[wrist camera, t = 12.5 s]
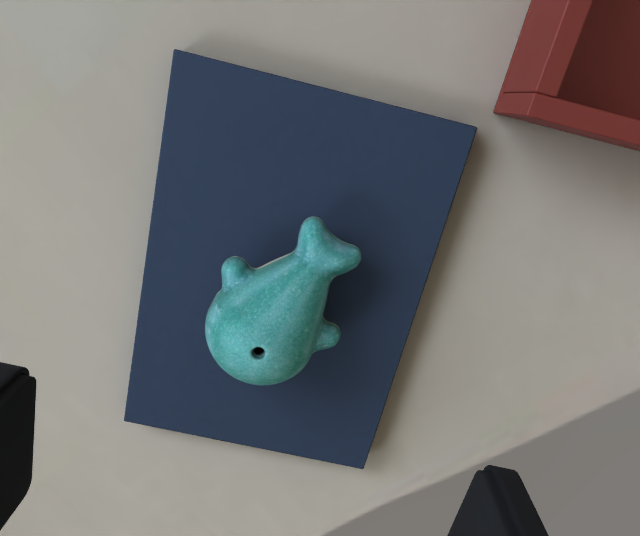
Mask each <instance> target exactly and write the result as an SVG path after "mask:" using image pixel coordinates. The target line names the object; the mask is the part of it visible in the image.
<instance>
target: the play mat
mask: <svg viewBox="0 0 640 536" xmlns="http://www.w3.org/2000/svg"><path fill="white" fill-rule="evenodd" d="M476 130H477V127H474V126H471V125H467V124H463V123H459V122H455V121H451V120H447V119H443V118H440V117H436V116H432V115H428V114H424V113H420V112H416V111H412V110H409V109H405V108H401V107H397V106H393V105H389V104H385V103H381V102H378V101H374V100H370V99H366V98H362V97H358V96H354V95H350V94H347V93H343V92H339V91H335V90H331V89H327V88H323V87H319V86H316V85H312V84H308V83H304V82H300V81H296V80H292V79H289V78H285V77H281V76H277V75H273V74H269V73H265V72H261V71H258V70H254V69H250V68H246V67H242V66H238V65H234V64H230V63H227V62H223V61H219V60H215V59H211V58H207V57H203V56H199V55H196V54H192V53H188V52H184V51H180V50H176V49H175V50H174V53H173V60H172V67H171V75H170V82H169V90H168V97H167V105H166V112H165V120H164V127H163V134H162V142H161V149H160V157H159V164H158V172H157V179H156V187H155V194H154V201H153V209H152V216H151V224H150V231H149V239H148V246H147V254H146V261H145V268H144V276H143V283H142V291H141V298H140V306H139V313H138V321H137V328H136V335H135V343H134V350H133V358H132V365H131V373H130V380H129V387H128V395H127V402H126V410H125V417H124V421H127V422H132V423H137V424H142V425H147V426H152V427H157V428H162V429H167V430H172V431H177V432H182V433H187V434H192V435H197V436H202V437H207V438H212V439H217V440H221V441H226V442H231V443H236V444H241V445H246V446H251V447H256V448H261V449H266V450H271V451H276V452H281V453H286V454H291V455H296V456H301V457H306V458H311V459H316V460H321V461H326V462H331V463H336V464H341V465H345V466H350V467H355V468H360V469H363V468H364V465H365V462H366V459H367V456H368V453H369V450H370V447H371V444H372V441H373V438H374V435H375V432H376V430H377V427H378V424H379V421H380V418H381V415H382V412H383V409H384V406H385V403H386V400H387V397H388V394H389V391H390V388H391V385H392V382H393V379H394V376H395V373H396V370H397V367H398V364H399V361H400V358H401V355H402V352H403V349H404V346H405V343H406V340H407V337H408V334H409V331H410V328H411V325H412V322H413V319H414V316H415V313H416V310H417V307H418V304H419V301H420V298H421V295H422V292H423V289H424V286H425V283H426V280H427V277H428V274H429V271H430V268H431V265H432V262H433V259H434V256H435V253H436V250H437V247H438V244H439V241H440V238H441V235H442V232H443V229H444V226H445V223H446V220H447V217H448V214H449V211H450V208H451V205H452V202H453V199H454V196H455V193H456V190H457V187H458V184H459V181H460V178H461V175H462V172H463V169H464V166H465V163H466V160H467V157H468V154H469V151H470V148H471V145H472V142H473V139H474V136H475V133H476ZM309 217H318V218H320V219H321V220H322V221H323V223H324V224H325V226H326V227H327V229H328V230H329V231H330V232H331V233H332V234H333V235H334V236H335V237H337V238H338V239H340V240H341V241H343V242H346V243H349V244H352V245H354V246H356V247H358V248H359V250H360V252H361V261H360V263H359V264H358V266H357V267H355V268H354V269H352V270H350V271H348V272H346V273H344V274H341V275H338V276H336V277H335V278H334V279H333V280H332V281H331V283H330V285H329V290H328V296H327V301H326V305H325V309H324V313H323V317H324V319H325V320H327V321H328V322H331V323H334V324H336V325H337V326H338V327H339V329H340V332H341V337H340V340H339V341H338V343H337V344H336V345H335V346H333V347H330V348H327V349H323V350H319V351H316V352H314V353H313V354H312V355H311V357H310V359H309V361H308V363H307V364H306V366H305V367H304V368H303V369H302V370H301V371H300V372H299V373H298V374H296V375H295V376H293V377H292V378H290V379H288V380H286V381H283V382H281V383H277V384H273V385H253V384H249V383H245V382H243V381H240V380H238V379H236V378H234V377H232V376H231V375H229V374H228V373H227V372H225V371H224V370H223V369H222V368H221V367H220V366H219V365H218V363H217V362H216V360H215V359H214V358H213V356H212V354H211V352H210V350H209V347H208V344H207V340H206V335H205V321H206V315H207V312H208V309H209V307H210V304H211V303H212V301H213V299H214V298H215V296H216V295H217V293H218V292H219V291H220V290H221V288H222V274H221V268H222V265H223V263H224V262H225V261H226V260H227V259H228V258H230V257H233V256H237V257H241V258H243V259H244V260H245V261H246V262H247V263H248V264H249V266H251V267H253V268H258V267H261V266H263V265H265V264H267V263H269V262H271V261H273V260H275V259H278V258H280V257H282V256H285V255H287V254H290V253H292V252H293V251H294V250H295V249H296V247H297V243H298V235H299V232H300V229H301V226H302V224H303V222H304V221H305V220H306V219H307V218H309Z"/></svg>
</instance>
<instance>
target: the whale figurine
mask: <svg viewBox="0 0 640 536" xmlns="http://www.w3.org/2000/svg"><path fill="white" fill-rule="evenodd" d="M360 261H361V252H360V250H359V248H358V247H356V246H354V245H352V244H349V243H346V242H343V241H341V240H340V239H338V238H337V237H335V236H334V235H333V234H332V233H331V232H330V231H329V230H328V229H327V227H326V226H325V224H324V223H323V221H322V220H321V219H320V218H318V217H309V218H307V219H306V220H305V221H304V222H303V224H302V226H301V229H300V232H299V235H298V243H297V247H296V249H295V250H294V251H293V252H292V253H290V254H287V255H285V256H282V257H280V258H278V259H275V260H273V261H271V262H269V263H267V264H265V265H263V266H261V267H258V268H253V267H251V266H249V264H248V263H247V262H246V261H245V260H244V259H243V258H241V257H237V256H233V257H230V258H228V259H227V260H226V261H225V262H224V263H223V265H222V268H221V274H222V288H221V290H220V291H219V292H218V293H217V295H216V296H215V298H214V299H213V301H212V303H211V304H210V307H209V309H208V312H207V315H206V321H205V335H206V340H207V344H208V347H209V350H210V352H211V354H212V356H213V358H214V359H215V360H216V362H217V363H218V365H219V366H220V367H221V368H222V369H223V370H224V371H225V372H227V373H228V374H229V375H231V376H232V377H234V378H236V379H238V380H240V381H243V382H245V383H249V384H253V385H273V384H277V383H281V382H283V381H286V380H288V379H290V378H292V377H293V376H295V375H296V374H298V373H299V372H300V371H301V370H302V369H303V368H304V367H305V366H306V364H307V363H308V361H309V359H310V357H311V355H312V354H313V353H314V352H316V351H319V350H323V349H327V348H330V347H333V346H335V345H336V344H337V343H338V341H339V340H340V337H341V332H340V329H339V327H338V326H337V325H336V324H334V323H331V322H328V321H327V320H325V319H324V317H323V313H324V309H325V305H326V301H327V296H328V290H329V285H330V283H331V281H332V280H333V279H334V278H335V277H336V276H338V275H341V274H344V273H346V272H348V271H350V270H352V269H354V268H355V267H357V266H358V264H359V263H360Z"/></svg>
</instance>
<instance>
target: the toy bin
mask: <svg viewBox="0 0 640 536" xmlns="http://www.w3.org/2000/svg"><path fill="white" fill-rule="evenodd" d="M494 113H496V114H500V115H503V116H507V117H511V118H515V119H519V120H523V121H526V122H530V123H534V124H538V125H542V126H546V127H549V128H553V129H557V130H561V131H565V132H569V133H572V134H576V135H580V136H584V137H588V138H592V139H595V140H599V141H603V142H607V143H611V144H615V145H618V146H622V147H626V148H630V149H634V150H638V151H640V0H531V3H530V6H529V9H528V12H527V15H526V18H525V21H524V24H523V27H522V30H521V33H520V36H519V39H518V41H517V44H516V47H515V50H514V53H513V56H512V59H511V62H510V65H509V68H508V71H507V74H506V77H505V80H504V83H503V85H502V88H501V91H500V94H499V97H498V100H497V103H496V106H495V109H494Z"/></svg>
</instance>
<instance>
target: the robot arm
mask: <svg viewBox="0 0 640 536" xmlns="http://www.w3.org/2000/svg"><path fill="white" fill-rule="evenodd" d="M35 400H36V379H35V378H34V377H31V376H29V371H28V369H27V368H25V367H20V366H15V365H11V364H6V363H1V362H0V530H1V529H2V527H3V526H4V525H5V523H6V522H7V520H8V519H9V518H10V516H11V515H12V514H13V512H14V511H15V509H16V508H17V507H18V505H19V504H20V503H21V501H22V500H23V498H24V497H25V495H26V493H27V491H28V489H29V487H30V484H31V479H32V463H33V442H34V421H35ZM448 536H548V534H547V532H546V530H545V528H544V525H543V523H542V521H541V519H540V517H539V515H538V513H537V511H536V509H535V507H534V505H533V503H532V501H531V499H530V496H529V494H528V493H527V490H526V488H525V486H524V484H523V482H522V480H521V478H520V476H519V475H518V473H517V472H516V471H515V470H511V469H506V468H502V467H497V466H492V465H488V466H487V467H485V468H484V470H483V471H481V470H479V471H477V472H476V474H475V476H474V478H473V480H472V482H471V485H470V486H469V489H468V491H467V493H466V496H465V498H464V500H463V503H462V504H461V507H460V509H459V511H458V513H457V516H456V518H455V520H454V522H453V524H452V527H451V529H450V531H449V534H448Z"/></svg>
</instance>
